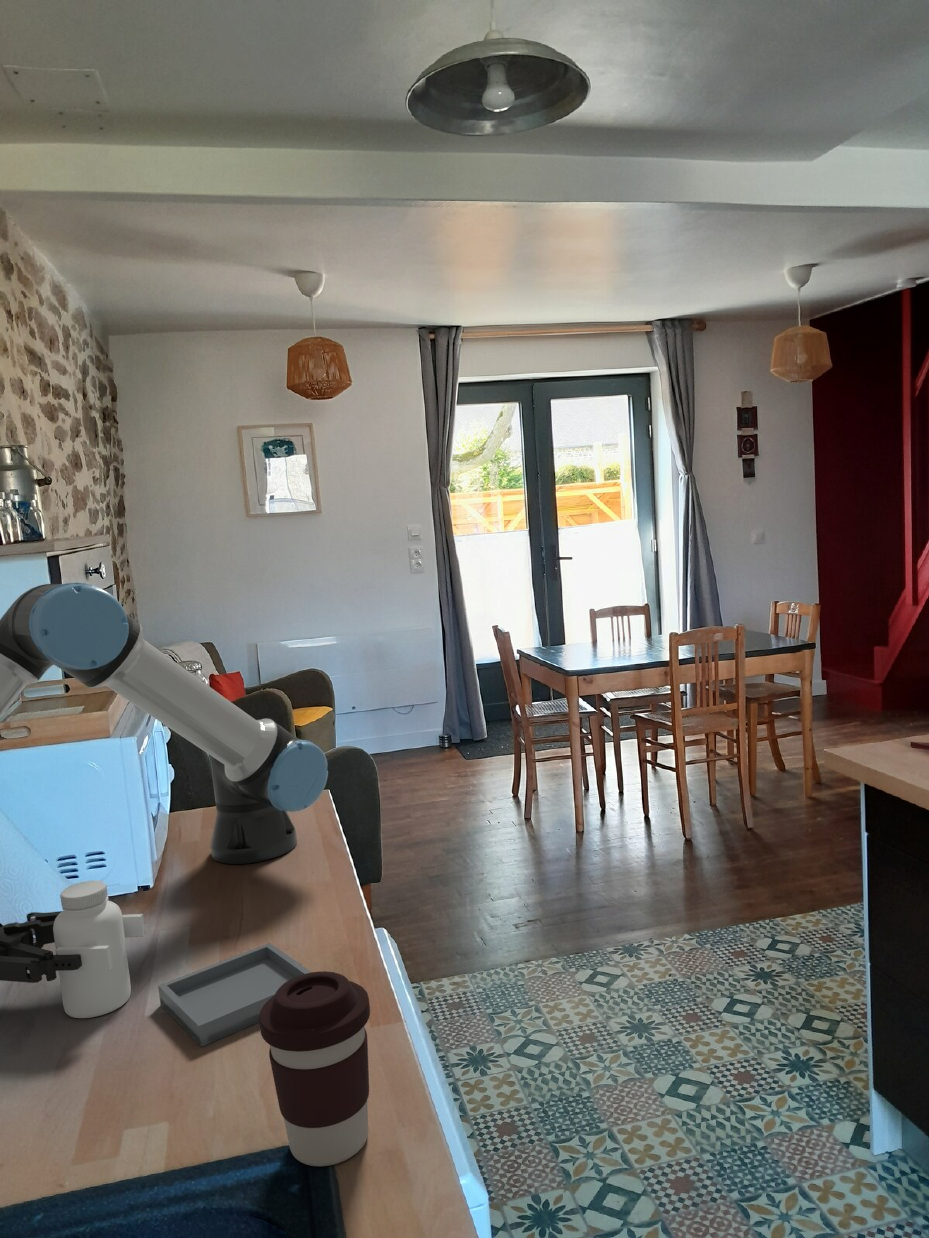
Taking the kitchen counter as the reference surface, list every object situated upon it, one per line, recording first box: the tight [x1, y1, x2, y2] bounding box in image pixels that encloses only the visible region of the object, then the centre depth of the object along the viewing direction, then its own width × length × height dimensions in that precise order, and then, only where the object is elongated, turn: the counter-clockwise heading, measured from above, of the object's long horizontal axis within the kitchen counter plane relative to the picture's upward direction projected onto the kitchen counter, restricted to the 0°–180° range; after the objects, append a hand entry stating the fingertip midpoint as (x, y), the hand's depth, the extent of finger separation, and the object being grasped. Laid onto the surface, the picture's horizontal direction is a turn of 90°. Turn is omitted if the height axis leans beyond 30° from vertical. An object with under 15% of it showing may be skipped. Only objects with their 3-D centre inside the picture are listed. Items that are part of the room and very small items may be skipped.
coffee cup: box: [258, 970, 371, 1167], centre depth 85 cm, size 10×10×15 cm
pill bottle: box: [53, 880, 132, 1019], centre depth 115 cm, size 8×8×15 cm
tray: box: [157, 942, 312, 1048], centre depth 113 cm, size 15×13×2 cm
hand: (126, 940), depth 114 cm, fingers closed on pill bottle, 8 cm apart
